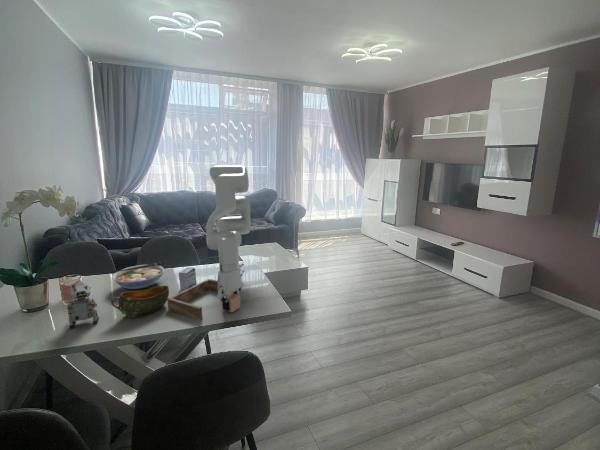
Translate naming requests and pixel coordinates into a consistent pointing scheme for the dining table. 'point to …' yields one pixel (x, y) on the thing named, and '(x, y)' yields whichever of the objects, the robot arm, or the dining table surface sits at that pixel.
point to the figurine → (81, 305)
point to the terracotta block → (233, 302)
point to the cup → (142, 301)
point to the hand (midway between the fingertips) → (231, 306)
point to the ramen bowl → (138, 276)
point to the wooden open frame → (180, 299)
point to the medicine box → (187, 278)
